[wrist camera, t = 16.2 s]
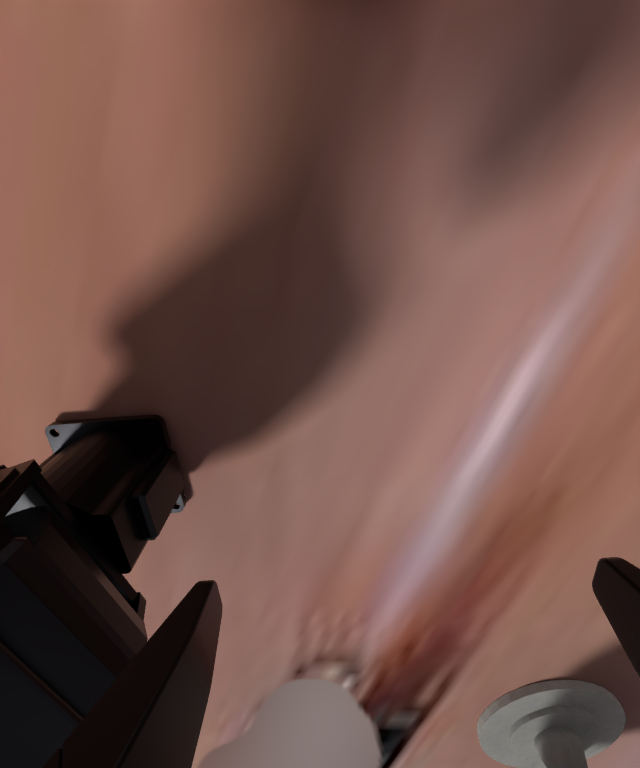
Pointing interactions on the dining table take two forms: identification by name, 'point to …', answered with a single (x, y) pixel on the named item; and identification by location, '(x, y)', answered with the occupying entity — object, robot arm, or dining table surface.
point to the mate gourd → (551, 724)
